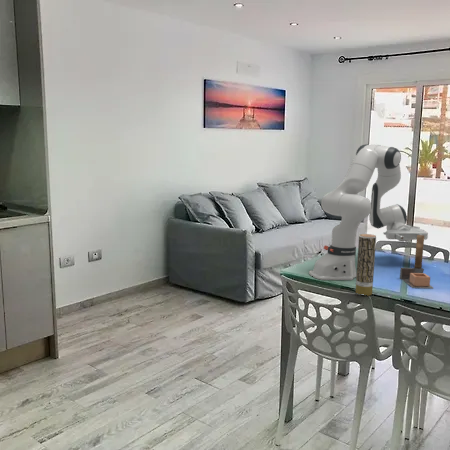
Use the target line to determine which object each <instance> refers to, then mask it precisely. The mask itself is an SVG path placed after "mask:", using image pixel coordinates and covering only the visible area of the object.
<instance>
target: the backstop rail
mask: <svg viewBox="0 0 450 450" xmlns="http://www.w3.org/2000/svg"><path fill="white" fill-rule="evenodd" d="M424 270H425V269H424V268H414V267H400V272H399V279H400V280H401V281H403V282H404V283H405V284H407V285H408V286H409V287H410V288H412V289H430V290H431V289H432V290H433V289H434V286H432V285H431V284H430V286H414V285H413V284H412V283H411V282H409V280H410V273H424V272H425V271H424Z"/></svg>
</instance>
